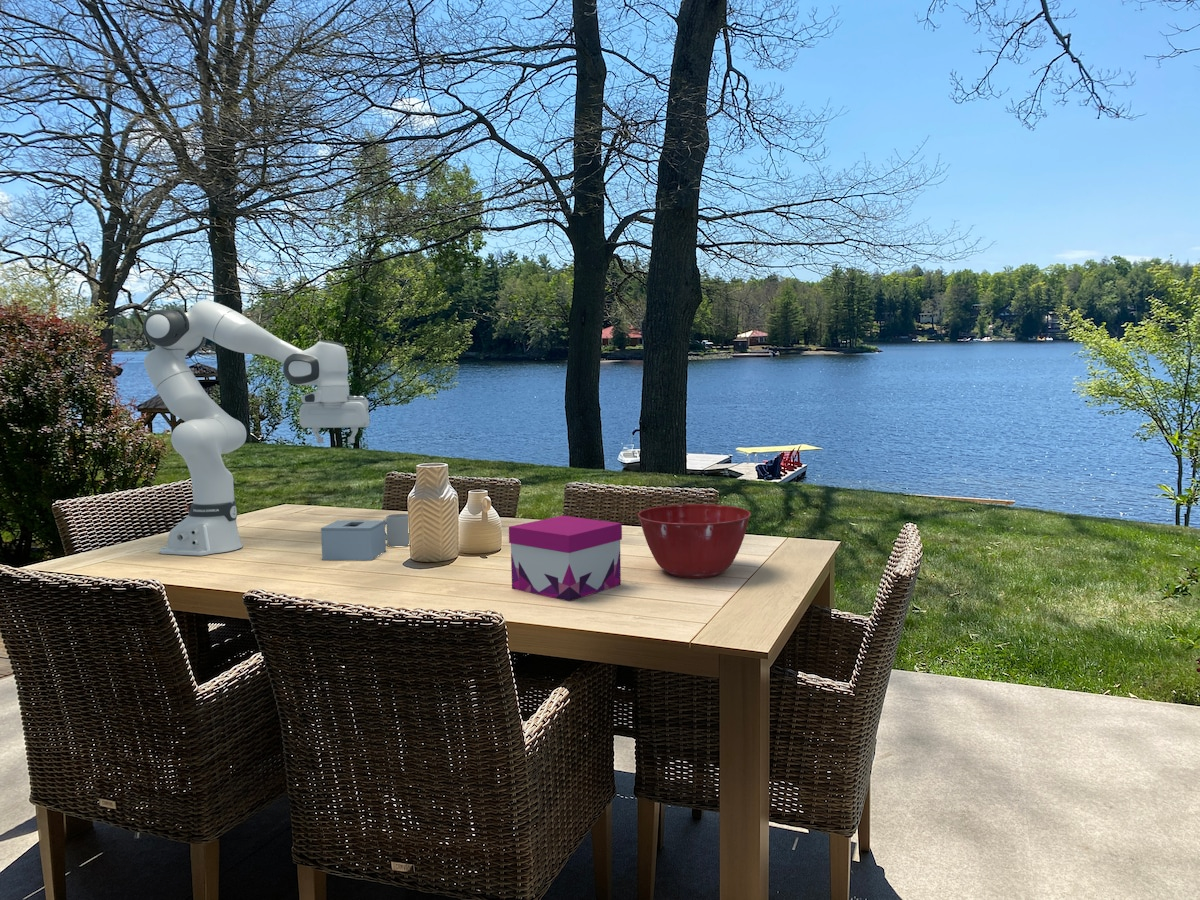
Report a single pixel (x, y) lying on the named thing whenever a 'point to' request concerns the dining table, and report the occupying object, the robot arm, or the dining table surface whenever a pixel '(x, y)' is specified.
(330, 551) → the money box
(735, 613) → the dining table surface
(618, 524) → the decorative box
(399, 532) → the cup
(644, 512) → the mixing bowl
